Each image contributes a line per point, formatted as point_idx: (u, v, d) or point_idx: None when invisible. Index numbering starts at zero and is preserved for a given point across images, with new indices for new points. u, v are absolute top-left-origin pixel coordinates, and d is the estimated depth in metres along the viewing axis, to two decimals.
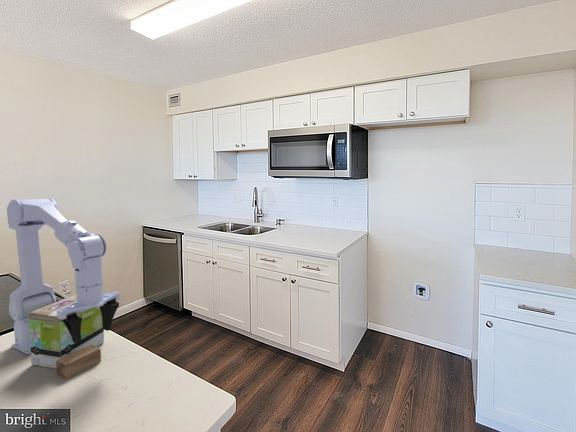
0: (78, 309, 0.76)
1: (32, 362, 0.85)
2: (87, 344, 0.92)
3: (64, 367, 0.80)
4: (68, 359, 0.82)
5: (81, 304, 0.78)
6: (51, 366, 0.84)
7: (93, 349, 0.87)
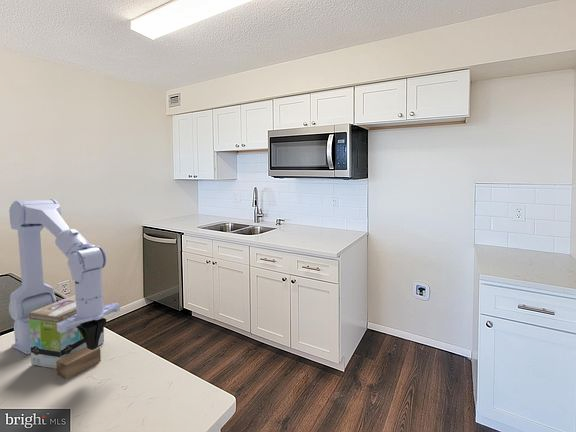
0: (78, 322, 0.76)
1: (32, 362, 0.85)
2: None
3: (65, 367, 0.80)
4: (68, 359, 0.82)
5: (81, 317, 0.78)
6: (51, 366, 0.84)
7: None
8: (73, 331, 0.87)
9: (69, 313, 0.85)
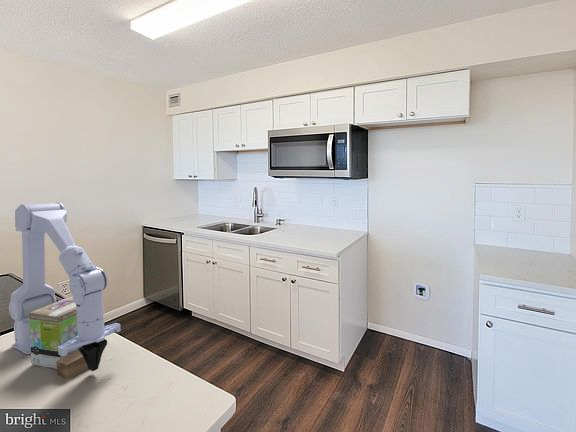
0: (79, 345, 0.77)
1: (32, 362, 0.85)
2: None
3: (65, 367, 0.80)
4: (69, 359, 0.82)
5: (82, 339, 0.78)
6: (51, 366, 0.84)
7: None
8: (73, 331, 0.87)
9: (69, 313, 0.85)
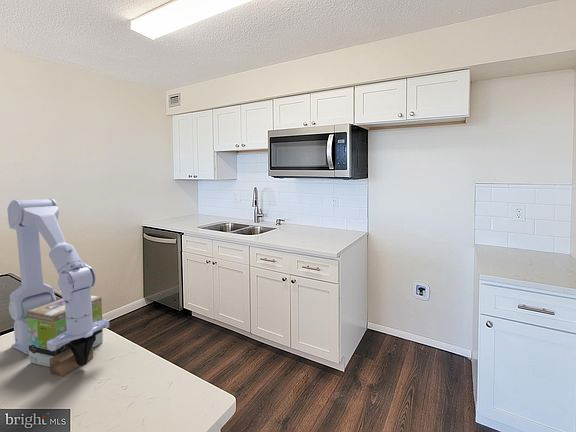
0: (68, 340, 0.79)
1: (30, 360, 0.86)
2: None
3: (60, 364, 0.81)
4: (62, 356, 0.83)
5: (71, 334, 0.80)
6: (47, 365, 0.85)
7: None
8: None
9: (65, 313, 0.85)
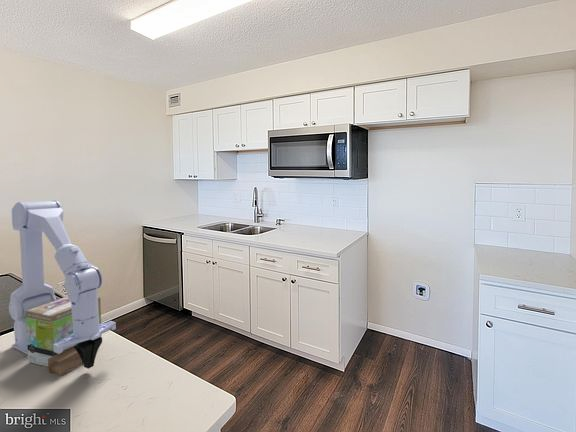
0: (74, 342, 0.78)
1: (29, 360, 0.86)
2: None
3: (58, 364, 0.81)
4: (60, 356, 0.83)
5: (77, 337, 0.79)
6: (45, 365, 0.85)
7: None
8: (68, 331, 0.87)
9: (63, 313, 0.85)
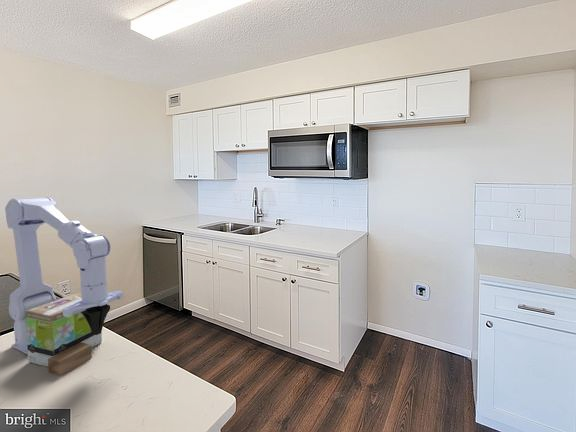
0: (83, 307, 0.79)
1: (29, 359, 0.86)
2: None
3: (58, 364, 0.81)
4: (60, 356, 0.83)
5: (86, 302, 0.80)
6: (45, 365, 0.85)
7: (84, 346, 0.88)
8: (68, 331, 0.87)
9: None
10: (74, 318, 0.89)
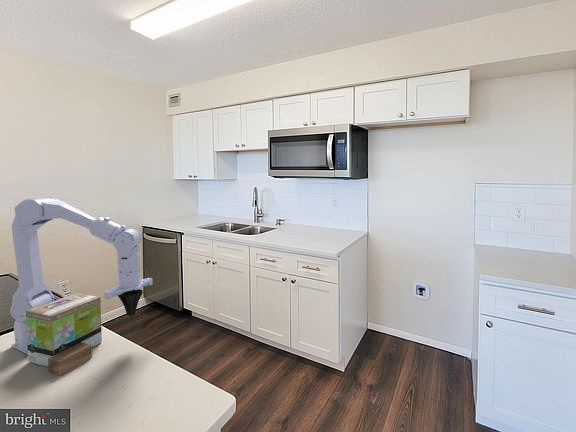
0: (121, 291, 0.91)
1: (29, 359, 0.86)
2: None
3: (57, 364, 0.81)
4: (60, 356, 0.83)
5: (123, 287, 0.92)
6: (45, 365, 0.85)
7: (84, 346, 0.88)
8: (68, 331, 0.87)
9: (63, 313, 0.85)
10: (74, 318, 0.89)
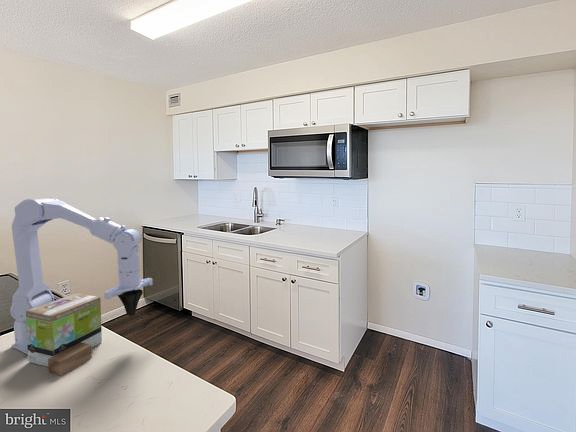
0: (121, 291, 0.91)
1: (29, 359, 0.86)
2: None
3: (58, 364, 0.81)
4: (60, 356, 0.83)
5: (123, 287, 0.92)
6: (45, 365, 0.85)
7: (84, 346, 0.88)
8: (68, 331, 0.87)
9: (63, 313, 0.85)
10: (74, 318, 0.89)
